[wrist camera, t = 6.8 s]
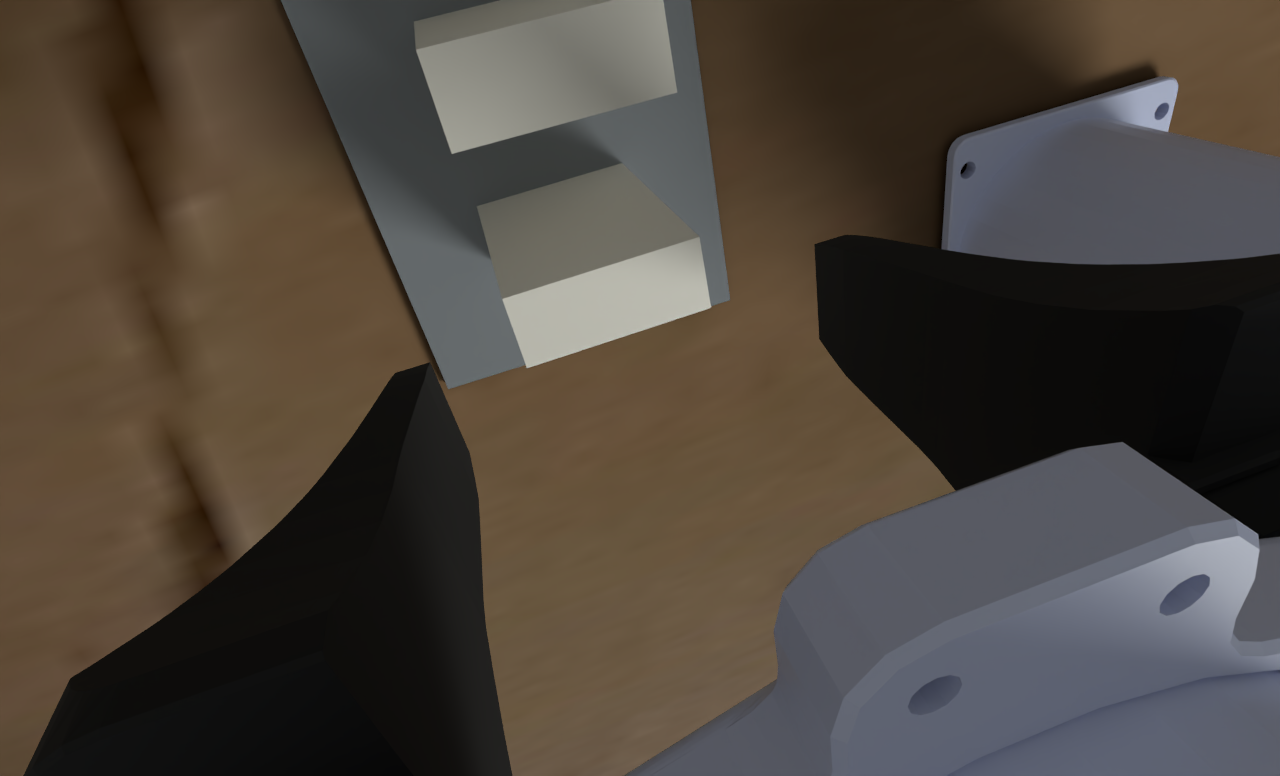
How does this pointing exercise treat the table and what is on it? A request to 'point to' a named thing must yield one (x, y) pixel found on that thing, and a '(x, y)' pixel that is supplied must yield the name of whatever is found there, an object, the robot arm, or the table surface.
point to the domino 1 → (541, 64)
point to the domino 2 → (591, 262)
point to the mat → (487, 166)
